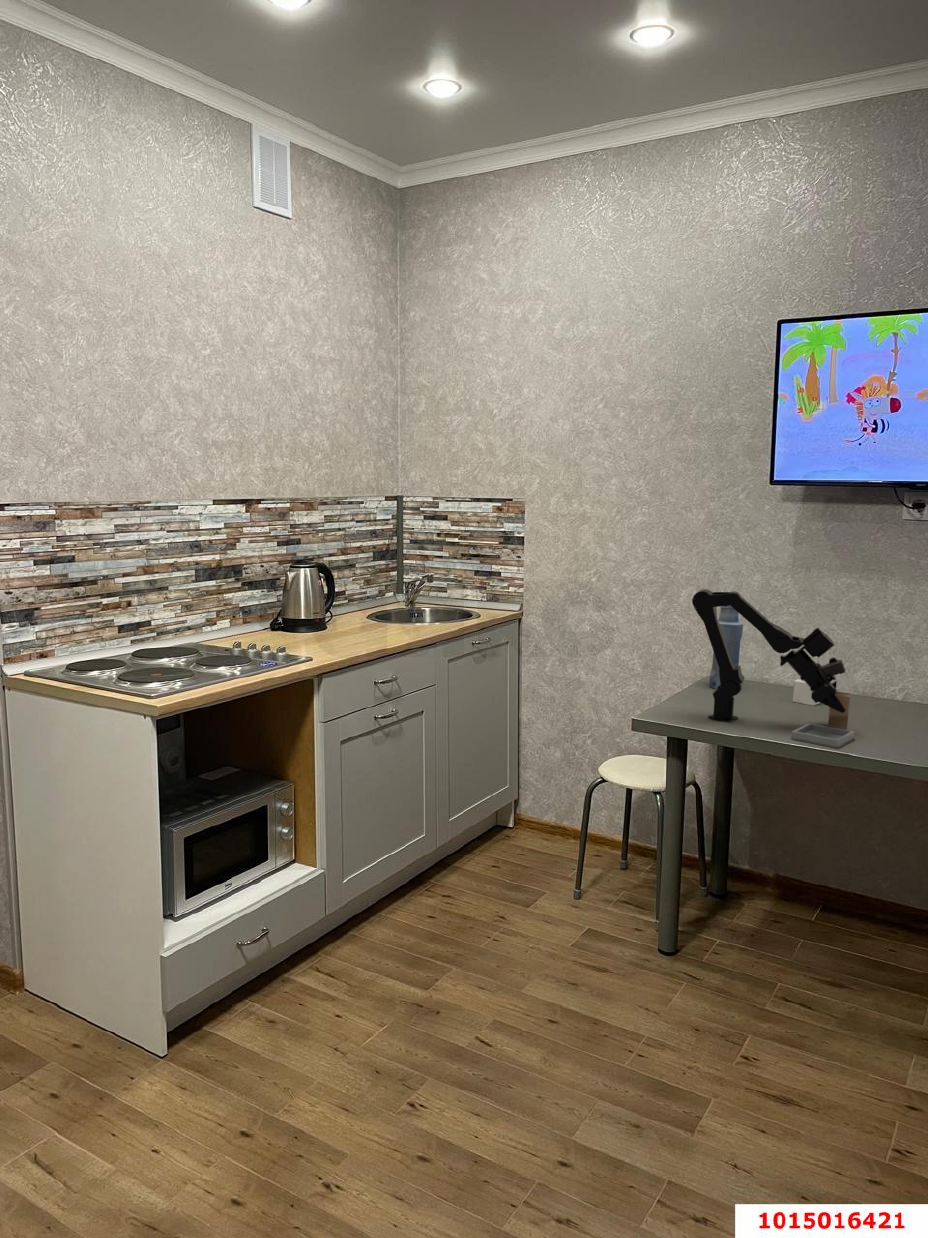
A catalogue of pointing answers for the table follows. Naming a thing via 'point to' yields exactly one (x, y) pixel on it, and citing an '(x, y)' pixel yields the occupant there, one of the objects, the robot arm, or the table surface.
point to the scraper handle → (837, 717)
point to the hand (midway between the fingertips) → (844, 709)
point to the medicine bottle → (802, 693)
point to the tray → (823, 735)
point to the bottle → (727, 640)
